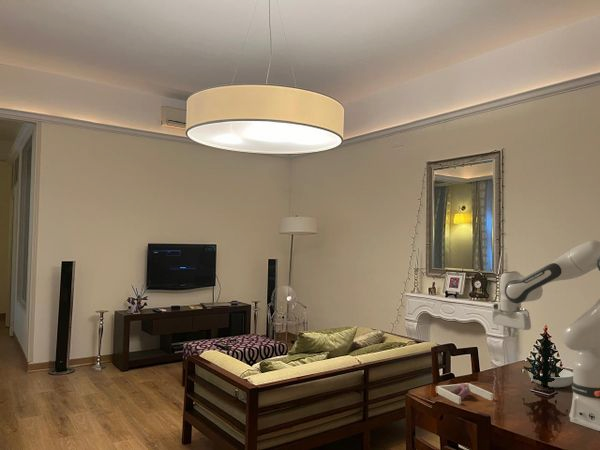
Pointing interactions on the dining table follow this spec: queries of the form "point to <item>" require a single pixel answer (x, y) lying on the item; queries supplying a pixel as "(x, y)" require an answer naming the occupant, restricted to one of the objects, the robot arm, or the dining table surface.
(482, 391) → the cream bay
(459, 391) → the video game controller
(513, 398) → the dining table surface
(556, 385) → the serving bowl
